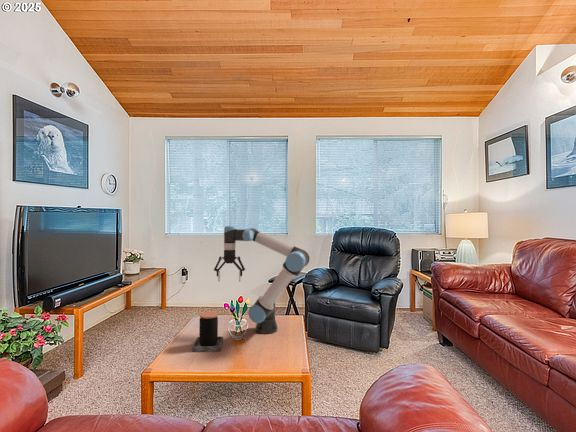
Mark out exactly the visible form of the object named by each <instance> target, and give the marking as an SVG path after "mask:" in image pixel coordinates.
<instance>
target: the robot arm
mask: <svg viewBox="0 0 576 432" xmlns="http://www.w3.org/2000/svg"><path fill="white" fill-rule="evenodd" d="M223 238H224V239H223V256H219V257H218V261H217V262H216V265H215V266H214V269H213V271H215V272H216V277H217V282H218V283H220V282H221V275H220V274H221V269H222V268H223V266H224V265H226V264H233V265H234V266H235V267H236V268H237V269H238V282H241V277H243V272H245V270H246V267H245V266H244V263H243V262H242V260H241V256H236V242H239V241H240V242H254V243H257V244H258V245H260V246H262V247H265V248H268V249H269V250H271V251H273V252H276V253H278V254H280V255H282V256H284V257H286V258H285V261H284V262H283V264H282V269H281V270H280V272H279V273H278V275H277V276H276V277H275V278H274V280H273V281H272V283H271V284H270V286H269V287H268V289H266V291H265V292H264V293H263V295H260V296H258V298H257V299H256V301H255V302H254V303H253V305H251V306H250V307H249V309H248V312H247V313H248V317H249V319H250V321H251V322H253V323H255V326H254V327H255V332H256V333H258V334H263V335H265V334H266V335H268V334H270V333H271V334H274V332H275V333H276V332H278V328H279V327H278V324H277V320H276V302H277V300H278V299H279V297H280V296H281V295H282V294H283V292H284V291H285V289H286V288H287V287H288V285H289V284H290V283H291V281H292V280H293V278H294V277H297V276H299V275H300V273H301V272H302V270H303V269H304V268H305V267H306V266H307V265H309V263H310V255H309V253H308V252H307V251H306V250H305V249H302V248H300V247H297V246H295V245H293V246H291V245H289V244H287V243H285V242H283V241H280V240H278V239H276V238H274V237H271V235H270V236H269V235H267V234H266V233H263V232H261V231H259V230H258V229H256V228H253V227H250V228H245V229H242V228H241V229H238V228H236V226H235V225H225V226H224V230H223ZM222 260H223V261H224V262H223V261H222ZM236 260H237V261H238V263H239V264H240V265H239V264H238V263H237V261H236ZM221 261H222V262H223V263H222V264H221V265H220V263H221ZM218 266H219V267H218ZM271 334H270V335H271Z"/></svg>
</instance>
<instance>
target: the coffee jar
mask: <svg viewBox="0 0 576 432" xmlns="http://www.w3.org/2000/svg"><path fill="white" fill-rule="evenodd" d="M218 315H219V314H218V312H215V311H205V312H201V313H200V314H199V334H198V335H199V336H198V337H199V343H200V345H201V346H215V345H216V344H217V342H218V337H219V335H218V334H219V333H218V332H219V329H218V328H219V327H218V326H219V317H218Z"/></svg>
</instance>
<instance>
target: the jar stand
mask: <svg viewBox="0 0 576 432" xmlns="http://www.w3.org/2000/svg"><path fill="white" fill-rule="evenodd" d="M195 339H196V340H195V341H194V344H193V345H192V347H191V348H192V352H194V353H195V352H199V353H202V352H221V349H222V345H223V342H224V336H218V342H217V344H216V345H215V346H201V345H200V343H199V336H197V338H195Z"/></svg>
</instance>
